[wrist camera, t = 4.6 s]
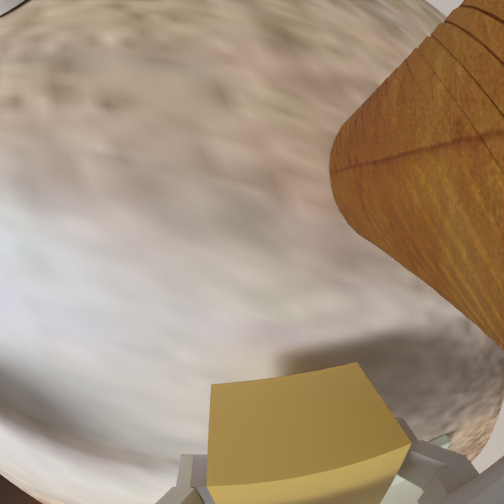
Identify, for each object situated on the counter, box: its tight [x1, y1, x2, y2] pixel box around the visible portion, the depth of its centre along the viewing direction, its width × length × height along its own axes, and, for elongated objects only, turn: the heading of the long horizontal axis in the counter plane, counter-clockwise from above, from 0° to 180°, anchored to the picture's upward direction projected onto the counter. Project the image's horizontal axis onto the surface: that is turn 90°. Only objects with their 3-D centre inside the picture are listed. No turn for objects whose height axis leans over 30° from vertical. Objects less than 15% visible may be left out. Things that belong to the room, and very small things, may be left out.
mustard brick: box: [206, 362, 411, 504], centre depth 8 cm, size 6×6×4 cm
